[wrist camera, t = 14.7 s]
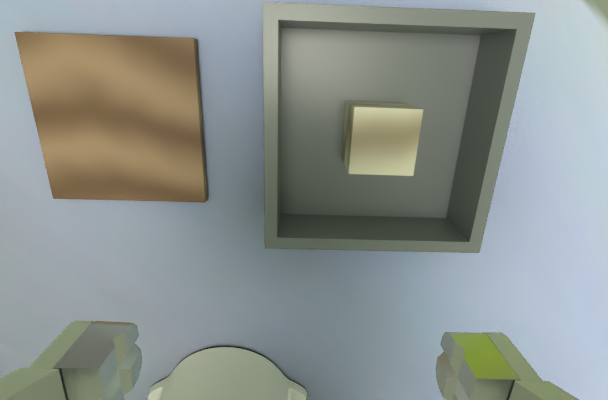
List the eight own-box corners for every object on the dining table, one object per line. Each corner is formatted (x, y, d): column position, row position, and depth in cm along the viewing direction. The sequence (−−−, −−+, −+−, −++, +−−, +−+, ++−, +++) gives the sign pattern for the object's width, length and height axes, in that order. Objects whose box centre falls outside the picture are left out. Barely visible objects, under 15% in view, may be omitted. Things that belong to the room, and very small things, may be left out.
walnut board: (207, 198, 34) (205, 202, 33) (60, 194, 34) (53, 198, 33) (197, 39, 29) (193, 38, 28) (23, 32, 29) (14, 31, 28)
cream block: (396, 160, 32) (413, 175, 27) (341, 158, 32) (348, 173, 27) (403, 102, 30) (423, 109, 25) (345, 100, 30) (354, 106, 25)
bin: (450, 223, 35) (478, 252, 30) (270, 219, 35) (264, 248, 29) (489, 23, 29) (535, 12, 23) (269, 15, 28) (262, 2, 23)
